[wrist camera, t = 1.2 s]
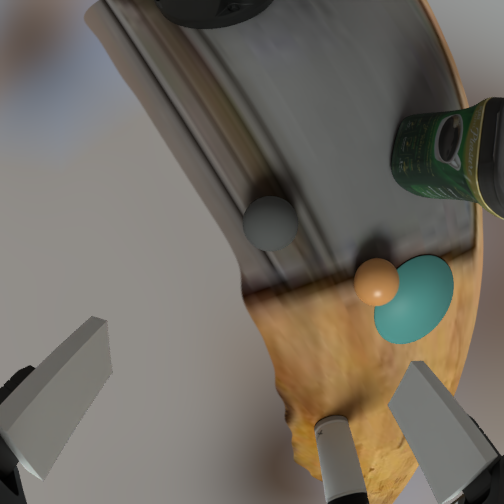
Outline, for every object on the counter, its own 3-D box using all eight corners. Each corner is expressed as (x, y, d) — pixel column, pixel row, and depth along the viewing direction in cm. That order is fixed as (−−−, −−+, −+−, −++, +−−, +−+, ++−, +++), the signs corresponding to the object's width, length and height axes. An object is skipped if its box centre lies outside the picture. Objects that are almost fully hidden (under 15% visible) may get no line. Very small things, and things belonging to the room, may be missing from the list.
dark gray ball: (255, 185, 29) (255, 189, 23) (302, 205, 29) (312, 214, 24) (236, 231, 30) (231, 245, 25) (282, 250, 31) (286, 267, 25)
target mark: (407, 238, 30) (408, 239, 30) (465, 275, 31) (466, 275, 31) (355, 330, 34) (356, 331, 34) (419, 350, 35) (420, 351, 35)
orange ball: (361, 245, 30) (379, 260, 25) (394, 261, 31) (415, 278, 25) (340, 285, 32) (353, 306, 27) (374, 298, 32) (390, 320, 27)
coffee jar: (430, 203, 28) (543, 244, 11) (381, 180, 28) (502, 206, 10) (446, 135, 25) (558, 134, 8) (399, 107, 25) (513, 75, 7)
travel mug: (307, 423, 40) (321, 519, 21) (342, 410, 39) (367, 506, 20) (318, 437, 42) (332, 524, 23) (350, 425, 41) (373, 511, 22)
